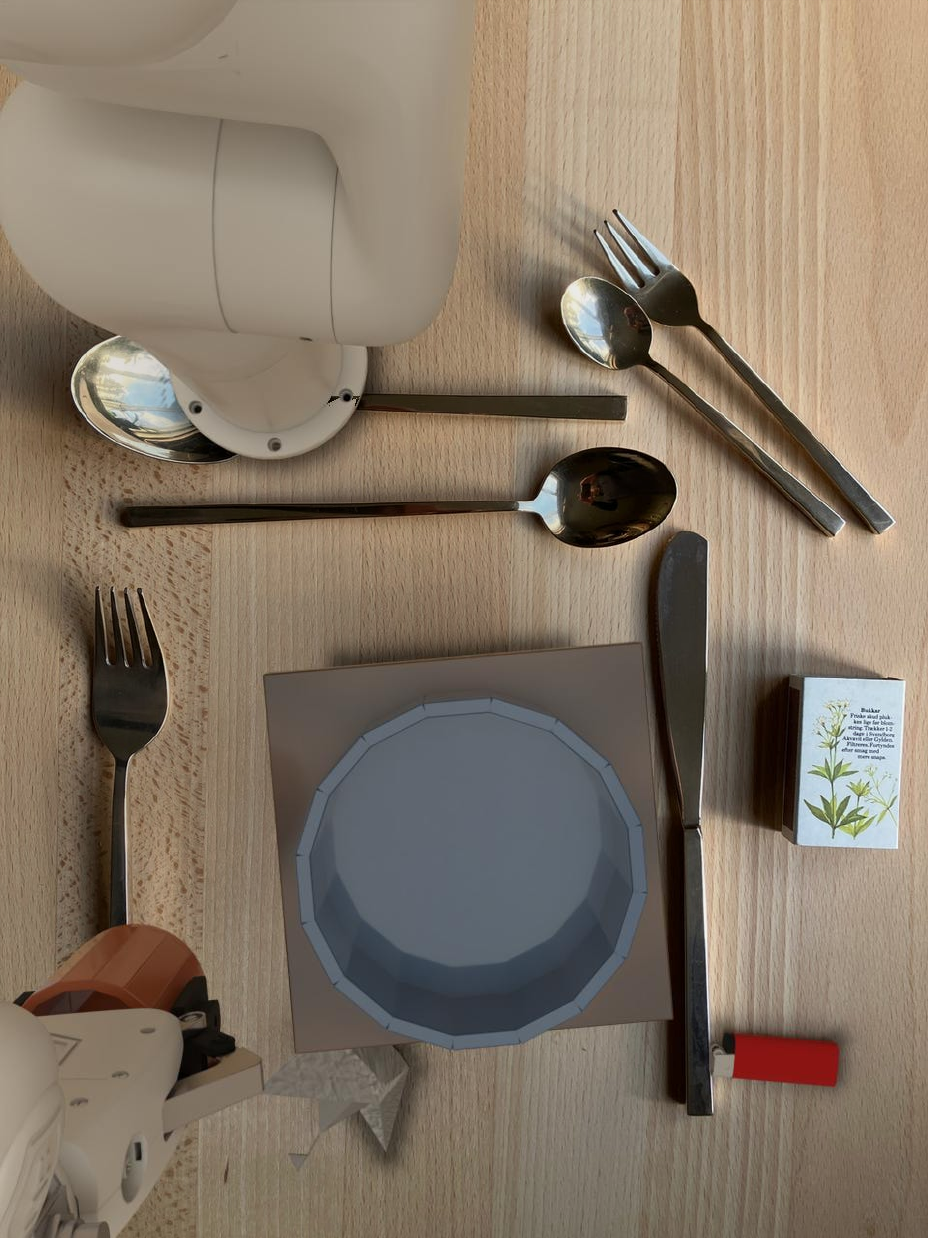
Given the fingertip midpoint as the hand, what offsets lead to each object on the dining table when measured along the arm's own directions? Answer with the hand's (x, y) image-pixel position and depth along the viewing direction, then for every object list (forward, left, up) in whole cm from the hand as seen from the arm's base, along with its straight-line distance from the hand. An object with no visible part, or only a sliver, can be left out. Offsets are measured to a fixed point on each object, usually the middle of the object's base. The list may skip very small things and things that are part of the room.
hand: (118, 1016), depth 49 cm
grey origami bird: (+12, +7, -19) cm, 23 cm away
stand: (-8, +17, -19) cm, 26 cm away
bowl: (-8, +17, +5) cm, 19 cm away
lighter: (+13, +35, -18) cm, 42 cm away
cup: (0, 0, -3) cm, 3 cm away
